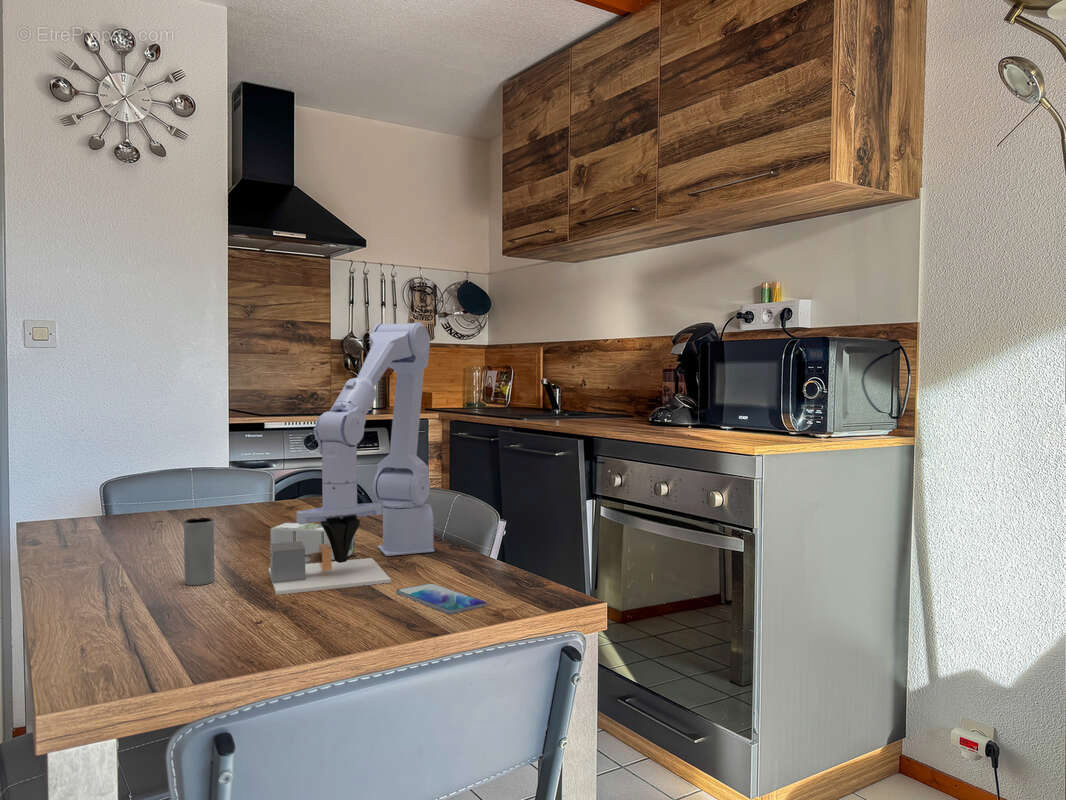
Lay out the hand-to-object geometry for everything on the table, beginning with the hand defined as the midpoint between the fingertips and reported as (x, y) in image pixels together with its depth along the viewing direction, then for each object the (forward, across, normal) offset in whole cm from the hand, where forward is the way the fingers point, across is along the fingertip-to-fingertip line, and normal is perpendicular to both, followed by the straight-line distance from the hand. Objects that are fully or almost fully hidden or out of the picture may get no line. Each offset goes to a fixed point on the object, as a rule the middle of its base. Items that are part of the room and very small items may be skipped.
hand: (340, 561), depth 132 cm
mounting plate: (+2, +2, -1) cm, 3 cm away
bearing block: (+2, +8, -2) cm, 9 cm away
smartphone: (+3, -6, +22) cm, 23 cm away
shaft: (+1, +6, -2) cm, 7 cm away
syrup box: (-1, +3, -22) cm, 22 cm away
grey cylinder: (+3, +20, -11) cm, 23 cm away
